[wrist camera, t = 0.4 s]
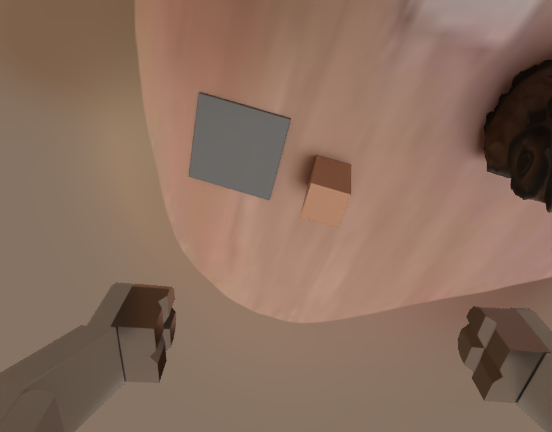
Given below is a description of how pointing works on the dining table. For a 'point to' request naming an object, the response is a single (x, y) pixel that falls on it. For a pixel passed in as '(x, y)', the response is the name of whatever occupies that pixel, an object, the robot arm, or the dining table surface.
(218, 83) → the dining table surface
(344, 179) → the tan rectangular pillar
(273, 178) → the grey mat
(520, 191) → the dark brown rock
